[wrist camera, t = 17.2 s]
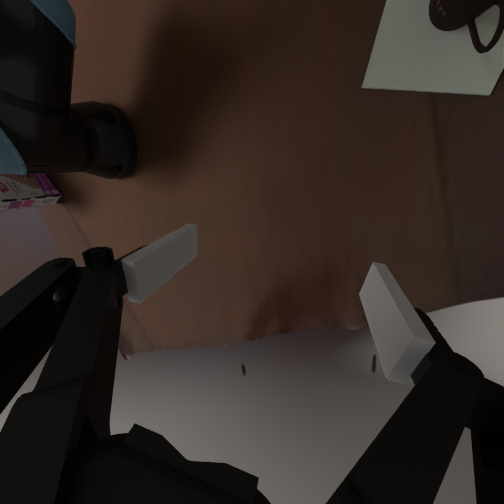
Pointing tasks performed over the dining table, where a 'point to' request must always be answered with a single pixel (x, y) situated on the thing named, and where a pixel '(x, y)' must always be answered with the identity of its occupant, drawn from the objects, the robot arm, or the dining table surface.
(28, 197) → the candy bar box
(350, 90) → the dining table surface
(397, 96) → the dining table surface
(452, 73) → the mat
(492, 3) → the coffee mug
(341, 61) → the dining table surface
